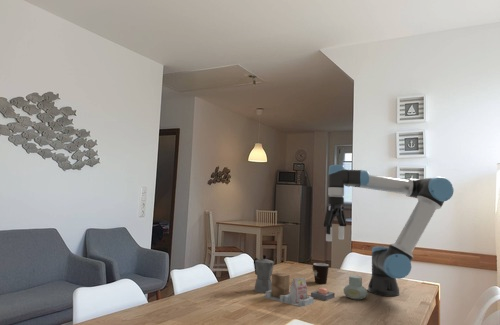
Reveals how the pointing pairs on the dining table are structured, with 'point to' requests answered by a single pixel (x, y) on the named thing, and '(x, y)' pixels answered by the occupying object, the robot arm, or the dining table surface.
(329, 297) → the switch box
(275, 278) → the walnut block
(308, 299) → the board
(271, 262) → the coffeepot
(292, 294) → the tea bag
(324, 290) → the button
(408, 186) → the robot arm
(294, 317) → the dining table surface
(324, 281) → the coffee mug
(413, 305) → the dining table surface
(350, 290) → the air freshener
